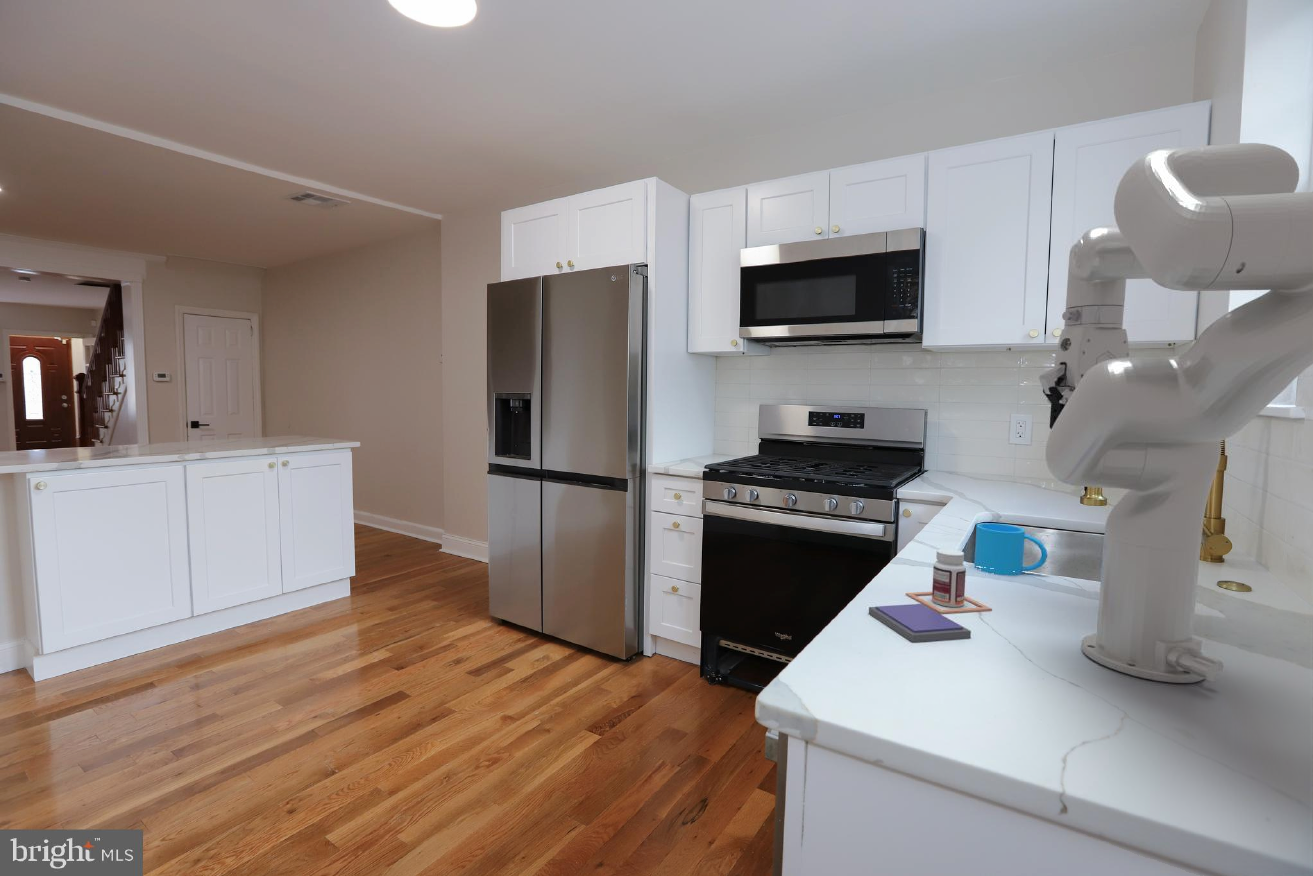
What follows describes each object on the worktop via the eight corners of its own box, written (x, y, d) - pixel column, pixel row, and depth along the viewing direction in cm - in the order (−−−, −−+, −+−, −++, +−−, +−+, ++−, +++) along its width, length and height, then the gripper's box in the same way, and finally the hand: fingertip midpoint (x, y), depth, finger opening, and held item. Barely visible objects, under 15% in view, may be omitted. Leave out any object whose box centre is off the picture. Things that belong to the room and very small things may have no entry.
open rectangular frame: (991, 610, 98) (991, 608, 98) (940, 614, 96) (940, 612, 96) (953, 592, 107) (953, 590, 107) (905, 594, 105) (905, 593, 105)
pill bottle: (957, 598, 104) (960, 548, 103) (968, 608, 99) (971, 556, 98) (927, 597, 104) (930, 547, 103) (937, 607, 99) (940, 554, 99)
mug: (971, 570, 120) (974, 528, 119) (976, 561, 127) (979, 521, 126) (1045, 582, 114) (1048, 537, 113) (1046, 571, 120) (1049, 529, 120)
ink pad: (970, 638, 87) (971, 628, 87) (912, 642, 85) (913, 633, 85) (921, 610, 98) (921, 602, 98) (868, 613, 96) (869, 605, 96)
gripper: (1067, 315, 93) (1058, 431, 94) (1161, 320, 96) (1152, 431, 98) (1027, 320, 100) (1020, 427, 101) (1116, 324, 104) (1108, 428, 105)
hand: (1085, 429), depth 100 cm, fingers open, 9 cm apart
